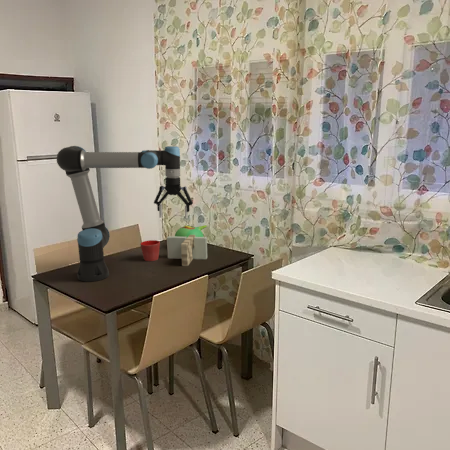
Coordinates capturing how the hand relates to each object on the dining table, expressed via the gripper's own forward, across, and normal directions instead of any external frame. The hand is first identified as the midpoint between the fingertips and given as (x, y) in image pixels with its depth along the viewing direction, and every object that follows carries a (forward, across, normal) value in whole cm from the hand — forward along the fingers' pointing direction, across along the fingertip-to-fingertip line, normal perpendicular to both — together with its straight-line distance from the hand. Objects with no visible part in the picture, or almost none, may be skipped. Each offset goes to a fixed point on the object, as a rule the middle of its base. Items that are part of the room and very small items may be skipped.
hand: (173, 217), depth 238 cm
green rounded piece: (+26, +2, +32) cm, 42 cm away
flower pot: (+27, -16, +10) cm, 33 cm away
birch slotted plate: (+26, +6, +9) cm, 28 cm away
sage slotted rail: (+26, +4, +13) cm, 29 cm away
